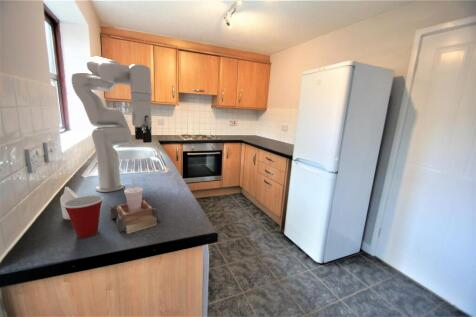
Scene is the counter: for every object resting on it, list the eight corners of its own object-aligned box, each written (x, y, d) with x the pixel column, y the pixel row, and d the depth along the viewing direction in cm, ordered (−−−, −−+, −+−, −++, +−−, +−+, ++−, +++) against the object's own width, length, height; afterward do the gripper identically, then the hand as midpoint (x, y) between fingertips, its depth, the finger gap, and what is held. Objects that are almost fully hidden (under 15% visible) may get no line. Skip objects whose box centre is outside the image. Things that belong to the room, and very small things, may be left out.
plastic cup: (103, 221, 80) (100, 191, 78) (109, 234, 72) (106, 201, 70) (65, 231, 73) (61, 197, 71) (68, 246, 65) (63, 209, 63)
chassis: (109, 215, 85) (108, 202, 84) (145, 206, 94) (144, 194, 93) (121, 235, 72) (120, 220, 71) (161, 223, 81) (161, 210, 80)
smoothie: (125, 219, 78) (123, 182, 75) (125, 211, 83) (123, 176, 80) (145, 216, 81) (143, 180, 78) (143, 209, 86) (142, 175, 83)
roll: (79, 186, 81) (60, 190, 76) (83, 216, 83) (64, 221, 79) (74, 182, 84) (56, 186, 80) (78, 211, 87) (60, 216, 83)
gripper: (125, 97, 90) (127, 138, 94) (138, 97, 78) (140, 144, 81) (143, 99, 95) (145, 137, 99) (159, 98, 83) (160, 143, 86)
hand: (143, 140), depth 90 cm, fingers open, 9 cm apart
